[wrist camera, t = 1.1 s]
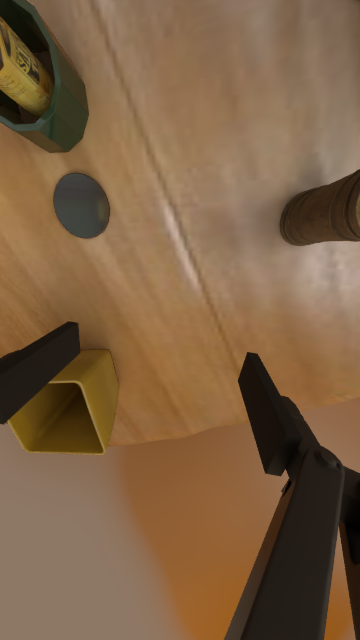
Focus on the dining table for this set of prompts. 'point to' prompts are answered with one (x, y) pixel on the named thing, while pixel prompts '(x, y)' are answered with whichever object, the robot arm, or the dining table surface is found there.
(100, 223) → the coaster
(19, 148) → the dining table surface
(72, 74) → the crock
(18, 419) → the flower pot
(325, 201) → the container
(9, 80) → the sauce bottle
